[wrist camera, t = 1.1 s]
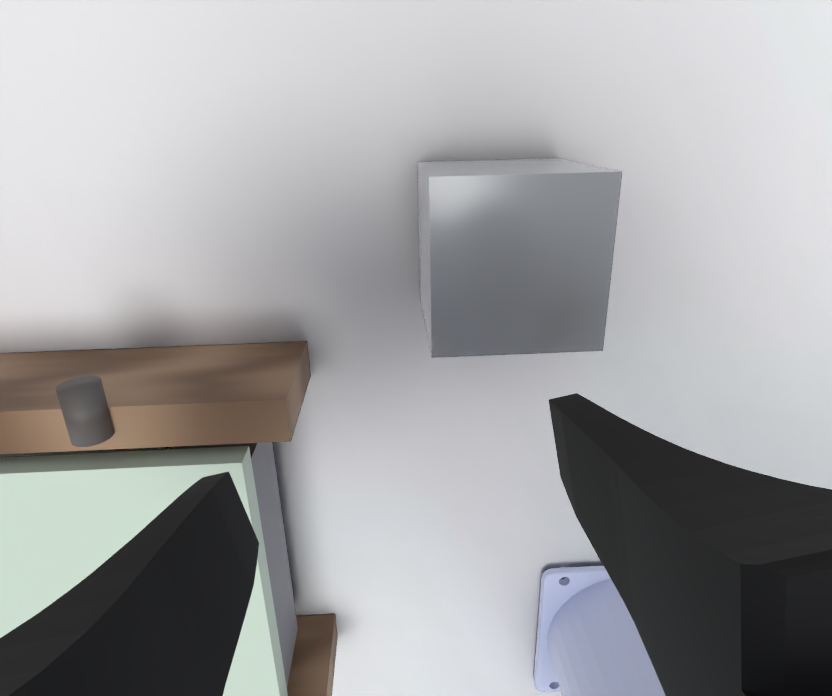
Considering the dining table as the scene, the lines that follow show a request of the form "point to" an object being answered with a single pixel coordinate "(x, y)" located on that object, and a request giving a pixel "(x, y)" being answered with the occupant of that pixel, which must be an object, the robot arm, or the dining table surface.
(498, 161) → the grey block
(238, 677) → the trapdoor
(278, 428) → the frame
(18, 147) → the dining table surface
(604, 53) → the dining table surface
